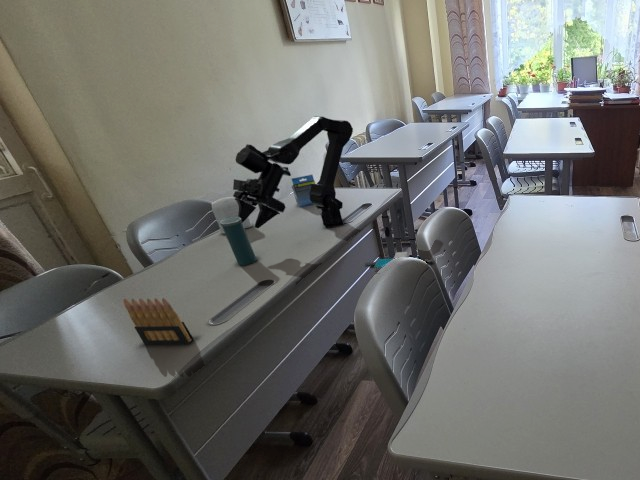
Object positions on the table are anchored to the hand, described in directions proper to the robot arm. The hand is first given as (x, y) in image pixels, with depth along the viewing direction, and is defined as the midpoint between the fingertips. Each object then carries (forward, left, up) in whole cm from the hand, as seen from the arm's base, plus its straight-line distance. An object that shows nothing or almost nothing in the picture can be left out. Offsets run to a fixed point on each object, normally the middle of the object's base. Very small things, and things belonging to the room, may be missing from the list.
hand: (247, 225), depth 124 cm
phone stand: (-40, +28, -11) cm, 50 cm away
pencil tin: (+3, +2, -11) cm, 12 cm away
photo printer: (+9, -31, -11) cm, 34 cm away
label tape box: (-17, -49, -11) cm, 53 cm away
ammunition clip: (+16, +41, -11) cm, 45 cm away
